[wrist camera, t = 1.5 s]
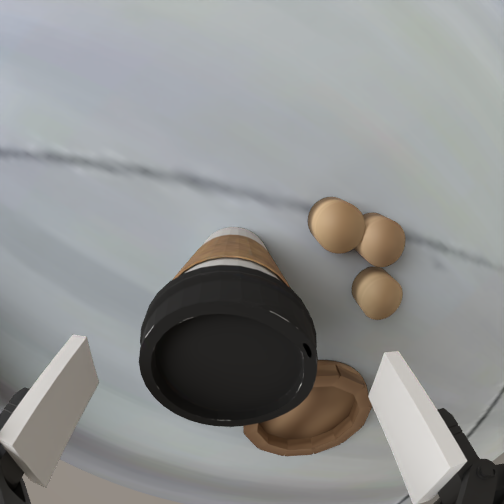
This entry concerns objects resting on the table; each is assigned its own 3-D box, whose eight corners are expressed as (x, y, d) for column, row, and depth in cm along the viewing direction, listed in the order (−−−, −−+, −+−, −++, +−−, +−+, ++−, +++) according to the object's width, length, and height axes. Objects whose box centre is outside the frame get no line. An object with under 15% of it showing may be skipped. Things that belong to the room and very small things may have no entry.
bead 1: (305, 241, 26) (312, 252, 23) (310, 194, 25) (318, 200, 22) (348, 243, 26) (360, 254, 23) (354, 199, 25) (368, 204, 22)
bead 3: (347, 304, 28) (358, 320, 25) (355, 265, 27) (367, 278, 24) (383, 304, 28) (396, 319, 25) (392, 266, 27) (406, 278, 24)
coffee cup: (297, 281, 27) (347, 404, 12) (212, 317, 28) (193, 451, 13) (258, 194, 24) (281, 251, 10) (167, 238, 25) (90, 335, 11)
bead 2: (347, 254, 26) (359, 266, 23) (353, 210, 25) (366, 217, 22) (385, 256, 26) (400, 267, 24) (392, 214, 25) (408, 221, 22)
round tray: (239, 443, 34) (239, 457, 32) (245, 359, 29) (245, 374, 27) (348, 438, 35) (352, 450, 32) (381, 356, 30) (389, 369, 28)
